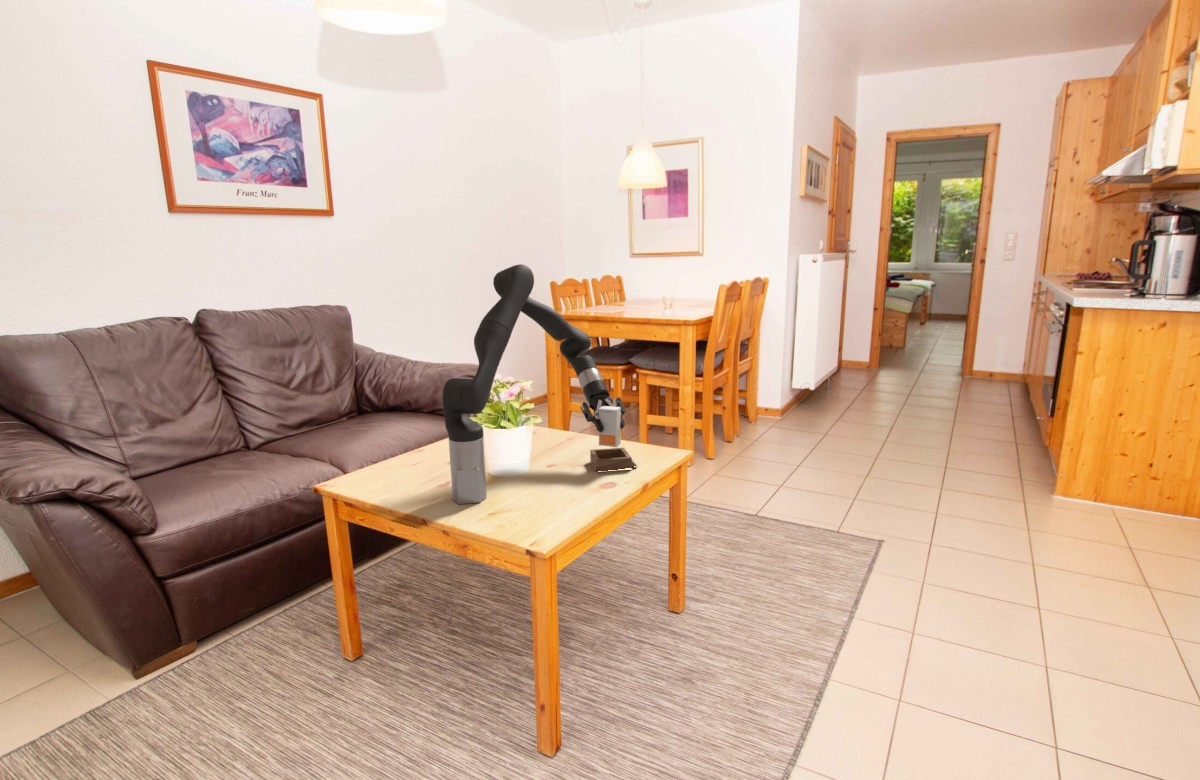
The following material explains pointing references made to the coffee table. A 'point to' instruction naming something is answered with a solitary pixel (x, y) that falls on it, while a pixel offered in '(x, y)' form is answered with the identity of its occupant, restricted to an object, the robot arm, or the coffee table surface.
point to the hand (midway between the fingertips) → (612, 429)
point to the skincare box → (610, 426)
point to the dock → (611, 459)
